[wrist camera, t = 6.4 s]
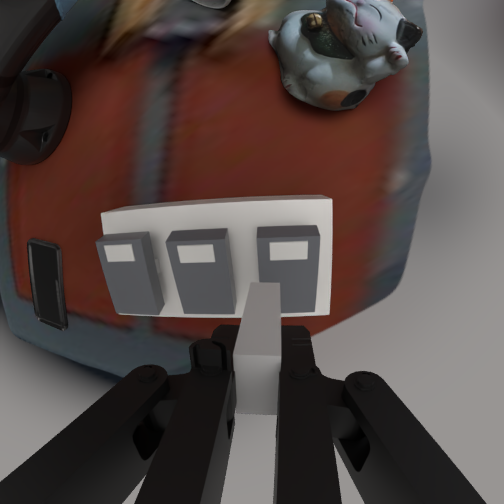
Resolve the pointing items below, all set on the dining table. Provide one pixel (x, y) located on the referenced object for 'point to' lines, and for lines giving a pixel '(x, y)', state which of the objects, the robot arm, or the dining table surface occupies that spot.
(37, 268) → the phone
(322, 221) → the switch unit
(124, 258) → the block
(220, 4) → the ceramic mug
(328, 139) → the dining table surface
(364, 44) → the lucky cat figurine
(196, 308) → the rocker
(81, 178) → the dining table surface
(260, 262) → the rocker
